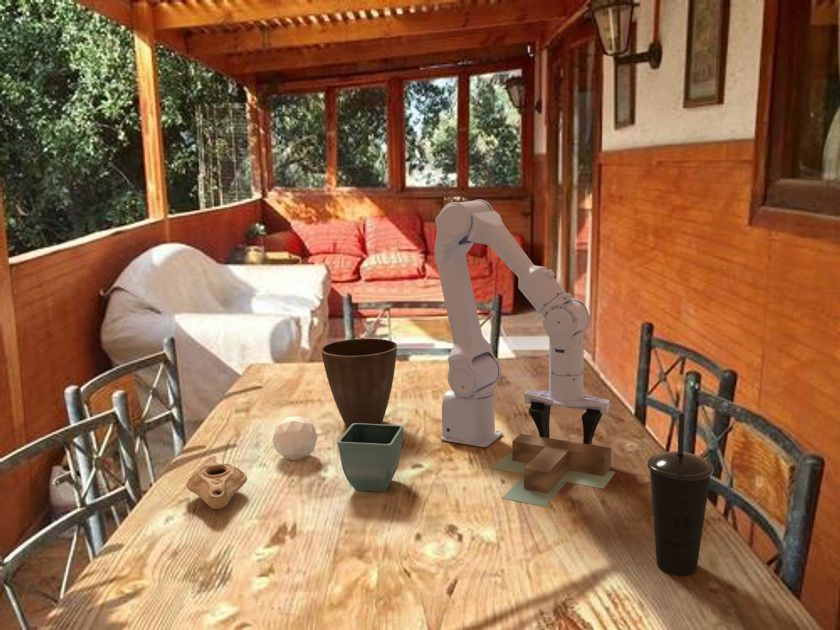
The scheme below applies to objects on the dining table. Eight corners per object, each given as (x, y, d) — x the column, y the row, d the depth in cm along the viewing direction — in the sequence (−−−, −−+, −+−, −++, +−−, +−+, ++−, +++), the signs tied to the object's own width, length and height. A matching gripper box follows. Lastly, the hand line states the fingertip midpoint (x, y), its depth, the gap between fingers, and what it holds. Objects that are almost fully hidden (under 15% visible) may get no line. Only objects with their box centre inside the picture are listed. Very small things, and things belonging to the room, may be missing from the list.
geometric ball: (293, 468, 136) (294, 426, 140) (326, 460, 132) (326, 416, 136) (262, 460, 131) (264, 416, 134) (295, 451, 127) (296, 406, 130)
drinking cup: (635, 552, 98) (639, 406, 94) (692, 548, 99) (698, 403, 95) (658, 584, 91) (664, 427, 87) (719, 579, 91) (727, 423, 87)
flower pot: (393, 499, 116) (391, 444, 114) (339, 495, 118) (336, 441, 116) (406, 476, 125) (404, 424, 123) (355, 473, 126) (352, 422, 125)
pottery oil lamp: (189, 523, 109) (170, 478, 110) (205, 514, 121) (188, 474, 122) (245, 496, 111) (226, 452, 111) (256, 490, 123) (238, 450, 123)
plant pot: (311, 432, 147) (306, 353, 143) (347, 409, 160) (343, 336, 157) (381, 440, 141) (377, 358, 138) (411, 415, 154) (408, 340, 151)
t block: (488, 482, 121) (488, 461, 120) (521, 452, 133) (520, 433, 132) (586, 500, 113) (586, 479, 113) (610, 467, 125) (611, 447, 124)
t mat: (466, 491, 118) (466, 490, 118) (508, 454, 133) (508, 453, 133) (584, 515, 109) (584, 514, 109) (615, 472, 123) (615, 471, 123)
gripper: (517, 373, 127) (518, 448, 130) (601, 382, 120) (600, 462, 123) (532, 363, 134) (532, 435, 136) (613, 371, 127) (612, 447, 129)
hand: (565, 447), depth 130 cm, fingers open, 7 cm apart
